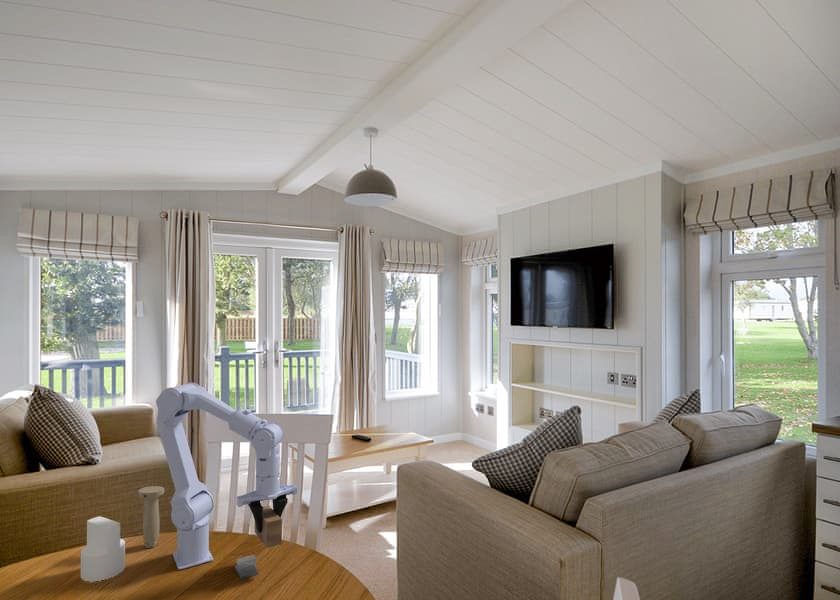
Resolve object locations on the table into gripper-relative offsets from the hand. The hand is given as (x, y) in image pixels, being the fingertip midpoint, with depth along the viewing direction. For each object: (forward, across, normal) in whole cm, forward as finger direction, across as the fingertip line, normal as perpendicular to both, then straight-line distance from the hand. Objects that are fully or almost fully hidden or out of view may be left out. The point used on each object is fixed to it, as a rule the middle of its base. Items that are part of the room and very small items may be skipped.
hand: (267, 528), depth 122 cm
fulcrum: (+9, -5, 0) cm, 10 cm away
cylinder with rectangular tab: (+9, -34, +20) cm, 40 cm away
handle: (+9, -22, +28) cm, 37 cm away
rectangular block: (+2, 0, 0) cm, 2 cm away
